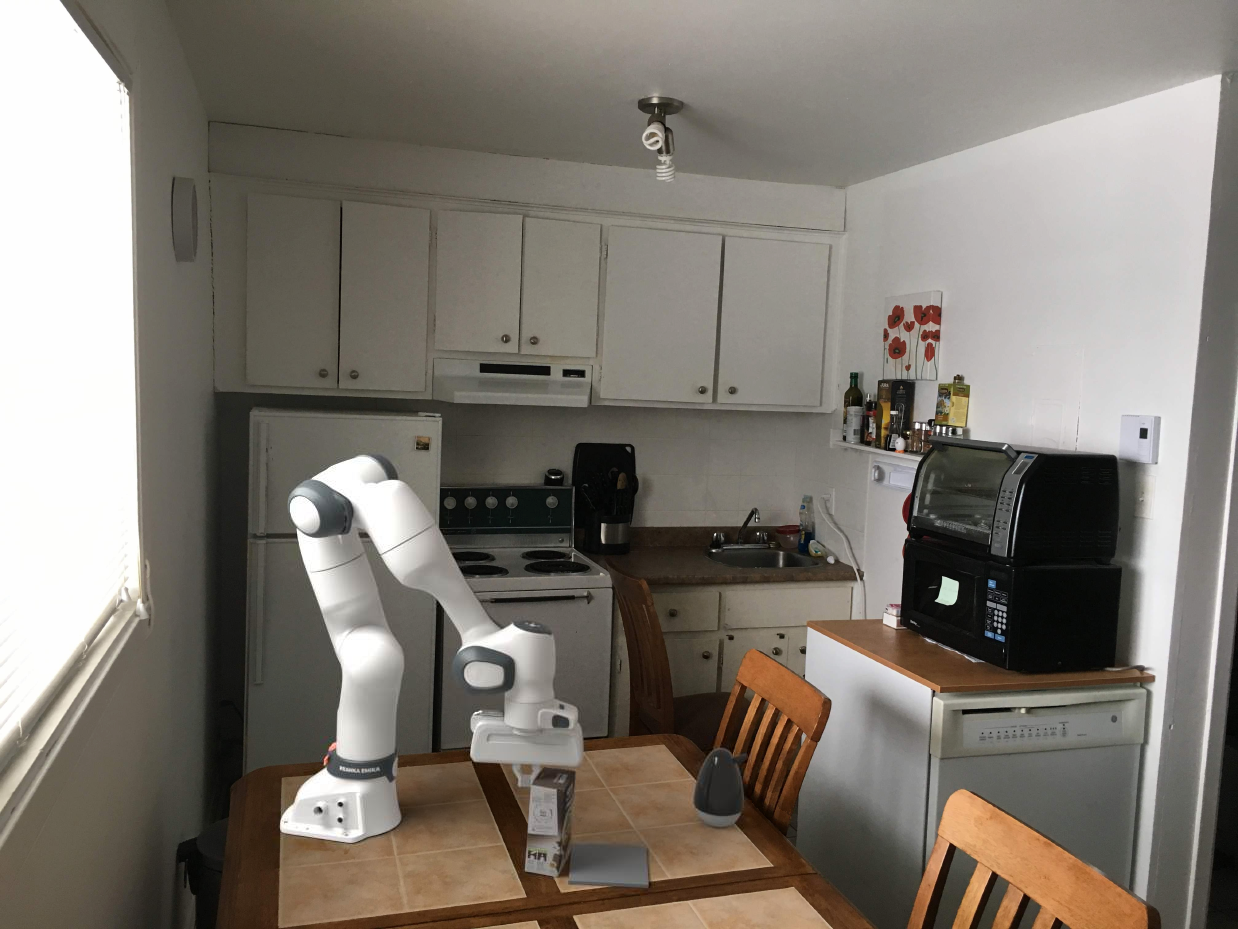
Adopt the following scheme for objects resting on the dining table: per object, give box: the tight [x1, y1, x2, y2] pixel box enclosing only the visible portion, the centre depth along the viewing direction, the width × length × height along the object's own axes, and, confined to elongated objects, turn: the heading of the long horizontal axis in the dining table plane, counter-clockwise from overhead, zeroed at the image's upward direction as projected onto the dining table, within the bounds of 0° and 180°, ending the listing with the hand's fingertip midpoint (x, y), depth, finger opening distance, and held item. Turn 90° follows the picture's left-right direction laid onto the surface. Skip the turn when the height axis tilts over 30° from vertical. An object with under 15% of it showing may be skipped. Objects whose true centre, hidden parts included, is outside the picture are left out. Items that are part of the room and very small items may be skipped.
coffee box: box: [524, 766, 577, 878], centre depth 173 cm, size 9×6×16 cm
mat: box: [567, 842, 650, 889], centre depth 174 cm, size 14×14×1 cm
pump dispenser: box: [692, 747, 749, 828], centre depth 193 cm, size 10×10×15 cm
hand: (526, 786), depth 172 cm, fingers closed
